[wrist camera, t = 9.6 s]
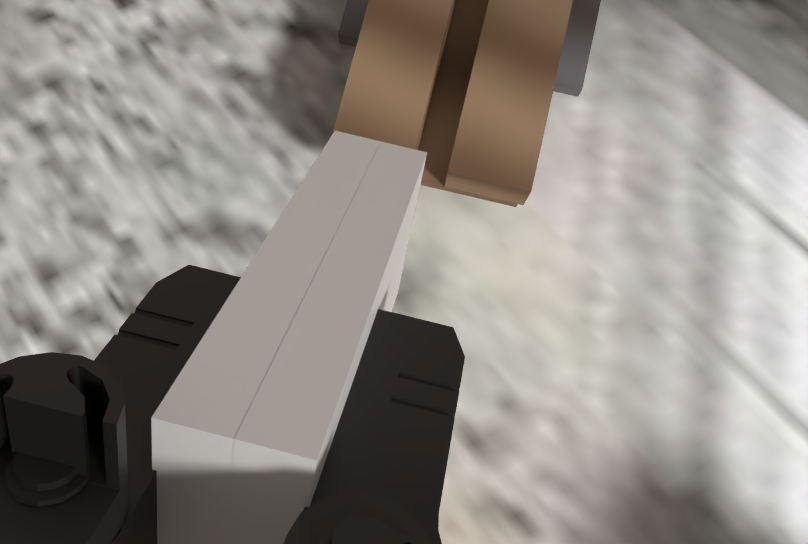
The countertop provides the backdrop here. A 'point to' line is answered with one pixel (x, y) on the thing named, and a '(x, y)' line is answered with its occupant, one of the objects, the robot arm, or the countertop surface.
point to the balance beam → (464, 83)
